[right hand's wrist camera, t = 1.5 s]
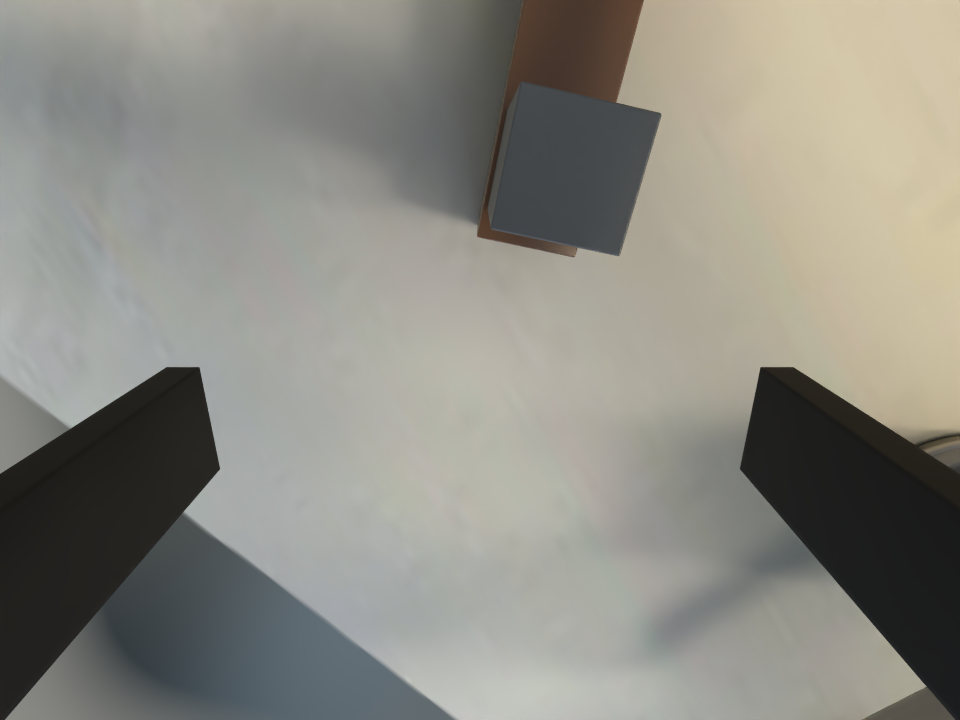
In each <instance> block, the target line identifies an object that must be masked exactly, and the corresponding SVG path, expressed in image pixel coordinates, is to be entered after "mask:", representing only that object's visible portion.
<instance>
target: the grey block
mask: <svg viewBox="0 0 960 720" xmlns="http://www.w3.org/2000/svg"><path fill="white" fill-rule="evenodd" d="M660 119H661V113H658V112H654V111H649V110H645V109H641V108H636V107H632V106H628V105H624V104H619V103H615V102H611V101H606V100H602V99H598V98H593V97H589V96H585V95H580V94H576V93H572V92H567V91H563V90H559V89H554V88H550V87H546V86H542V85H537V84H533V83H529V82H524V81H522V82H521V83H520V85H519V87H518V89H517V91H516V93H515V95H514V97H513V99H512V101H511V103H510V106H509V108H508V110H507V115H506V119H505V124H504V129H503V134H502V139H501V144H500V149H499V154H498V159H497V164H496V169H495V174H494V179H493V184H492V189H491V194H490V199H489V204H488V215H489V221H490V227H491V229H492V230H496V231H501V232H506V233H511V234H515V235H520V236H525V237H530V238H534V239H539V240H544V241H549V242H553V243H558V244H563V245H568V246H572V247H577V248H582V249H587V250H591V251H596V252H601V253H606V254H610V255H615V256H619V255H620V253H621V250H622V246H623V243H624V240H625V236H626V233H627V230H628V226H629V223H630V219H631V216H632V213H633V209H634V206H635V203H636V199H637V196H638V193H639V189H640V186H641V182H642V179H643V176H644V172H645V169H646V166H647V162H648V159H649V156H650V152H651V149H652V145H653V142H654V139H655V135H656V132H657V129H658V125H659V122H660Z"/></svg>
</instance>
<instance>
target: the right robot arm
mask: <svg viewBox="0 0 960 720" xmlns="http://www.w3.org/2000/svg"><path fill="white" fill-rule="evenodd" d="M219 470H220V466H219V461H218V457H217V452H216V447H215V442H214V437H213V432H212V427H211V422H210V417H209V412H208V407H207V402H206V397H205V393H204V388H203V383H202V378H201V373H200V368H199V367H166V368H165V369H163V370H162V371H160V372H159V373H157V374H155V375H154V376H152V377H151V378H149V379H148V380H146V381H144V382H143V383H141V384H140V385H138V386H137V387H135V388H134V389H132V390H130V391H129V392H127V393H126V394H124V395H123V396H121V397H120V398H118V399H116V400H115V401H113V402H112V403H110V404H109V405H107V406H105V407H104V408H102V409H101V410H99V411H98V412H96V413H95V414H93V415H91V416H90V417H88V418H87V419H85V420H84V421H82V422H81V423H79V424H77V425H76V426H74V427H73V428H71V429H70V430H68V431H67V432H65V433H63V434H62V435H60V436H59V437H57V438H56V439H54V440H52V441H51V442H49V443H48V444H46V445H45V446H43V447H42V448H40V449H38V450H37V451H35V452H34V453H32V454H31V455H29V456H28V457H26V458H24V459H23V460H21V461H20V462H18V463H17V464H15V465H13V466H12V467H10V468H9V469H7V470H6V471H4V472H3V473H1V474H0V720H5V719H6V718H7V717H8V715H9V714H10V713H11V712H12V711H13V710H14V708H15V707H16V706H17V705H18V704H19V703H20V701H21V700H22V699H23V698H24V697H25V696H26V694H27V693H28V692H29V691H30V690H31V689H32V687H33V686H34V685H35V684H36V683H37V682H38V680H39V679H40V678H41V677H42V676H43V675H44V673H45V672H46V671H47V670H48V669H49V668H50V666H51V665H52V664H53V663H54V662H55V661H56V659H57V658H58V657H59V656H60V655H61V654H62V652H63V651H64V650H65V649H66V648H67V647H68V645H69V644H70V643H71V642H72V641H73V640H74V639H75V637H76V636H77V635H78V634H79V633H80V632H81V630H82V629H83V628H84V627H85V626H86V625H87V623H88V622H89V621H90V620H91V619H92V618H93V616H94V615H95V614H96V613H97V612H98V611H99V609H100V608H101V607H102V606H103V605H104V604H105V602H106V601H107V600H108V599H109V598H110V597H111V595H112V594H113V593H114V592H115V591H116V590H117V588H118V587H119V586H120V585H121V584H122V583H123V581H124V580H125V579H126V578H127V577H128V576H129V574H130V573H131V572H132V571H133V570H134V569H135V568H136V566H137V565H138V564H139V563H140V562H141V561H142V559H143V558H144V557H145V556H146V555H147V554H148V552H149V551H150V550H151V549H152V548H153V547H154V545H155V544H156V543H157V542H158V541H159V540H160V538H161V537H162V536H163V535H164V534H165V533H166V531H167V530H168V529H169V528H170V527H171V526H172V524H173V523H174V522H175V521H176V520H177V518H178V517H179V516H180V515H181V514H182V513H183V512H184V510H185V509H186V508H187V507H188V506H189V505H190V503H191V502H192V501H193V500H194V499H195V498H196V496H197V495H198V494H199V493H200V492H201V491H202V489H203V488H204V487H205V486H206V485H207V484H208V483H209V481H210V480H211V479H212V478H213V477H214V476H215V474H216V473H217V472H218V471H219ZM740 470H741V471H742V472H743V473H744V474H745V476H746V477H747V478H748V479H749V480H750V481H751V483H752V484H753V485H754V486H755V487H756V488H757V489H758V491H759V492H760V493H761V494H762V495H763V496H764V498H765V499H766V500H767V501H768V502H769V503H770V505H771V506H772V507H773V508H774V509H775V510H776V512H777V513H778V514H779V515H780V516H781V517H782V519H783V520H784V521H785V522H786V523H787V524H788V526H789V527H790V528H791V529H792V530H793V531H794V533H795V534H796V535H797V536H798V537H799V538H800V540H801V541H802V542H803V543H804V544H805V545H806V547H807V548H808V549H809V550H810V551H811V552H812V554H813V555H814V556H815V557H816V558H817V559H818V561H819V562H820V563H821V564H822V565H823V566H824V568H825V569H826V570H827V571H828V572H829V573H830V574H831V576H832V577H833V578H834V579H835V580H836V581H837V583H838V584H839V585H840V586H841V587H842V588H843V590H844V591H845V592H846V593H847V594H848V595H849V597H850V598H851V599H852V600H853V601H854V602H855V604H856V605H857V606H858V607H859V608H860V609H861V611H862V612H863V613H864V614H865V615H866V616H867V618H868V619H869V620H870V621H871V622H872V623H873V625H874V626H875V627H876V628H877V629H878V630H879V632H880V633H881V634H882V635H883V636H884V637H885V639H886V640H887V641H888V642H889V643H890V644H891V646H892V647H893V648H894V649H895V650H896V651H897V653H898V654H899V655H900V656H901V657H902V658H903V659H904V661H905V662H906V663H907V664H908V665H909V666H910V668H911V669H912V670H913V671H914V672H915V673H916V675H917V676H918V677H919V678H920V679H921V680H922V682H923V683H924V684H925V685H926V686H927V687H925V688H923V689H921V690H920V691H918V692H916V693H914V694H912V695H910V696H908V697H906V698H904V699H902V700H900V701H898V702H896V703H894V704H892V705H890V706H888V707H886V708H884V709H882V710H880V711H878V712H876V713H874V714H872V715H870V716H868V717H866V718H864V719H862V720H960V436H955V437H948V438H943V439H939V440H936V441H932V442H929V443H926V444H923V445H921V446H918V447H917V446H915V445H914V444H912V443H911V442H909V441H908V440H906V439H904V438H903V437H901V436H900V435H898V434H897V433H895V432H894V431H892V430H890V429H889V428H887V427H886V426H884V425H883V424H881V423H879V422H878V421H876V420H875V419H873V418H872V417H870V416H869V415H867V414H865V413H864V412H862V411H861V410H859V409H858V408H856V407H855V406H853V405H851V404H850V403H848V402H847V401H845V400H844V399H842V398H840V397H839V396H837V395H836V394H834V393H833V392H831V391H830V390H828V389H826V388H825V387H823V386H822V385H820V384H819V383H817V382H816V381H814V380H812V379H811V378H809V377H808V376H806V375H805V374H803V373H801V372H800V371H798V370H797V369H795V368H794V367H761V368H760V373H759V378H758V383H757V388H756V393H755V397H754V402H753V407H752V412H751V417H750V422H749V427H748V432H747V437H746V442H745V447H744V452H743V457H742V461H741V466H740Z"/></svg>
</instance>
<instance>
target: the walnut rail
mask: <svg viewBox="0 0 960 720" xmlns="http://www.w3.org/2000/svg"><path fill="white" fill-rule="evenodd" d="M643 1H644V0H522V3H521V8H520V13H519V18H518V23H517V28H516V33H515V39H514V44H513V49H512V54H511V59H510V64H509V69H508V74H507V79H506V84H505V89H504V94H503V99H502V104H501V109H500V114H499V119H498V124H497V130H496V135H495V140H494V145H493V150H492V155H491V160H490V165H489V170H488V175H487V180H486V185H485V190H484V195H483V200H482V205H481V210H480V215H479V221H478V230H477V237H479V238H484V239H489V240H494V241H498V242H503V243H508V244H513V245H517V246H522V247H527V248H532V249H537V250H541V251H546V252H551V253H556V254H561V255H565V256H570V257H575V255H576V251H577V247H572V246H568V245H563V244H558V243H553V242H549V241H544V240H539V239H534V238H530V237H525V236H520V235H515V234H511V233H506V232H501V231H496V230H492V229H491V227H490V221H489V215H488V204H489V199H490V194H491V189H492V184H493V179H494V174H495V169H496V164H497V159H498V154H499V149H500V144H501V139H502V134H503V129H504V124H505V119H506V115H507V110H508V108H509V106H510V103H511V101H512V99H513V97H514V95H515V93H516V91H517V89H518V87H519V85H520V83H521V82H522V81H524V82H529V83H533V84H537V85H542V86H546V87H550V88H554V89H559V90H563V91H567V92H572V93H576V94H580V95H585V96H589V97H593V98H598V99H602V100H606V101H611V102H615V103H616V102H617V98H618V94H619V91H620V87H621V83H622V79H623V76H624V72H625V68H626V64H627V61H628V57H629V53H630V49H631V46H632V42H633V38H634V35H635V31H636V27H637V23H638V20H639V16H640V12H641V8H642V5H643Z"/></svg>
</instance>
